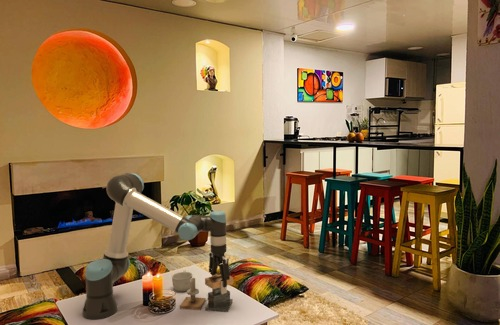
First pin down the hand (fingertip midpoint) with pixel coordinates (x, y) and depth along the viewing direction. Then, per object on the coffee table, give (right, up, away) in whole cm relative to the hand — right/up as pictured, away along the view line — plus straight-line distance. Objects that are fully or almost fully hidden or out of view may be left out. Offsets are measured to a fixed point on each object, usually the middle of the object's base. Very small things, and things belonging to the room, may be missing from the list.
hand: (219, 290), depth 186 cm
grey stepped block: (0, -8, +1) cm, 8 cm away
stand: (-13, -8, +2) cm, 15 cm away
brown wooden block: (0, +3, 0) cm, 3 cm away
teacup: (-21, -7, +23) cm, 32 cm away
